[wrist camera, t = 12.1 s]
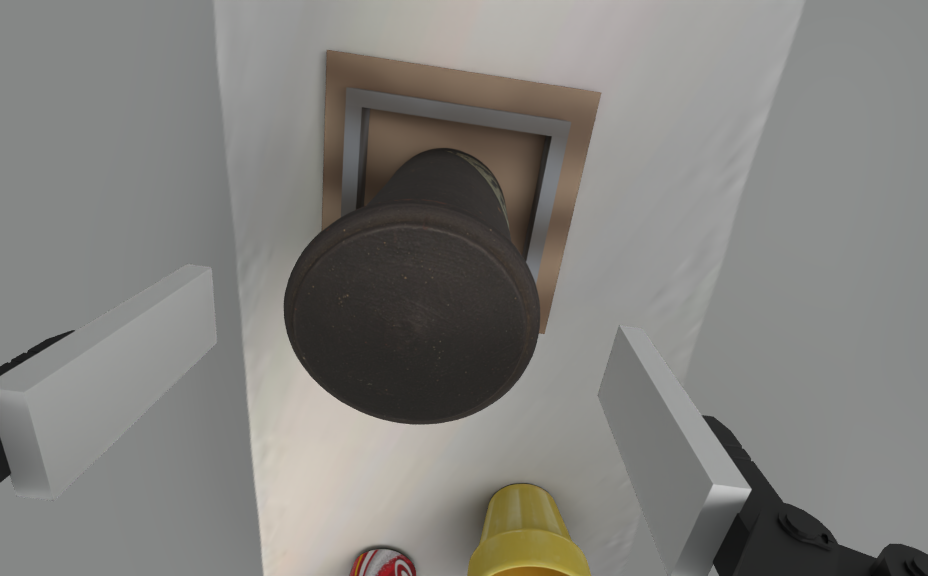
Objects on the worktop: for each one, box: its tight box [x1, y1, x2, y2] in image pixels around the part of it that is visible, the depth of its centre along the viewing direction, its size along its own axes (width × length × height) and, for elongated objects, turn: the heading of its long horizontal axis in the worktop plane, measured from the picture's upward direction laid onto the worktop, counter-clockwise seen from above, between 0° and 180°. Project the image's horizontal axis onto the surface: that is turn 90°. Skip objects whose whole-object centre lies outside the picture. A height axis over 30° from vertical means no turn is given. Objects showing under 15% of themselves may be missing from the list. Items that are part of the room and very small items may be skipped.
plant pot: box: [467, 484, 591, 576], centre depth 42 cm, size 10×10×10 cm
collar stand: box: [322, 50, 601, 334], centre depth 33 cm, size 18×18×4 cm
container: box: [284, 148, 540, 424], centre depth 25 cm, size 9×9×20 cm
